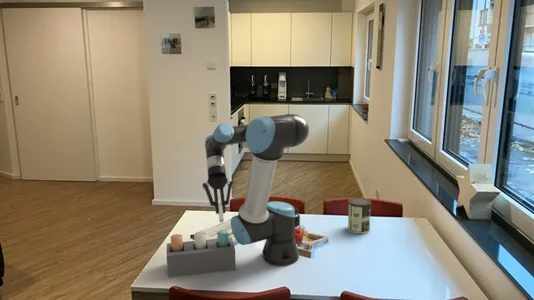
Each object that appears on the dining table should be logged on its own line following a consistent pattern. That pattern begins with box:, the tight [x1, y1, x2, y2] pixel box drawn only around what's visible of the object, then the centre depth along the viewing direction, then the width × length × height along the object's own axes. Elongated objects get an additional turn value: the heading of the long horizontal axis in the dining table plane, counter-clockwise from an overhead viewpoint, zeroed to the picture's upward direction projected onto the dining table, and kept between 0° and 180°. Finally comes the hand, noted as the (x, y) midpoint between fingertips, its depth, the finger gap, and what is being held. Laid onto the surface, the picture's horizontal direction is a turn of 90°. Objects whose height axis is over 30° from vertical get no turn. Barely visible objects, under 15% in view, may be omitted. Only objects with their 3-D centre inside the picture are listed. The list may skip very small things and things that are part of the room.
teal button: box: [216, 229, 230, 248], centre depth 178 cm, size 4×4×6 cm
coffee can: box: [347, 197, 372, 234], centre depth 211 cm, size 10×10×14 cm
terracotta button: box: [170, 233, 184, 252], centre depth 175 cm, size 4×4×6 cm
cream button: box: [193, 231, 207, 250], centre depth 176 cm, size 4×4×6 cm
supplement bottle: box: [293, 206, 301, 227], centre depth 208 cm, size 7×7×12 cm
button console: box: [165, 237, 237, 278], centre depth 178 cm, size 26×11×9 cm, turn 101°
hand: (221, 220), depth 178 cm, fingers closed
